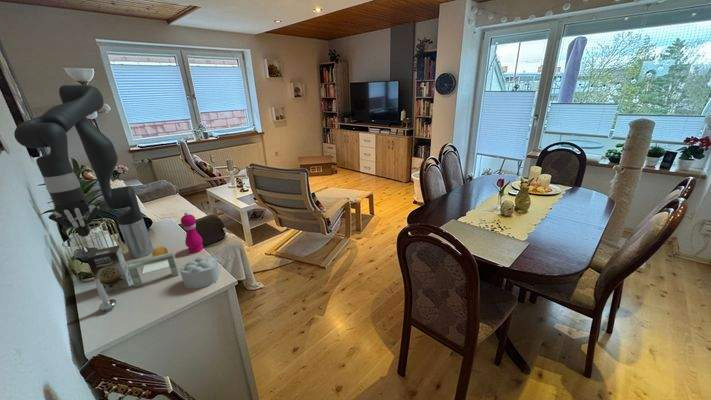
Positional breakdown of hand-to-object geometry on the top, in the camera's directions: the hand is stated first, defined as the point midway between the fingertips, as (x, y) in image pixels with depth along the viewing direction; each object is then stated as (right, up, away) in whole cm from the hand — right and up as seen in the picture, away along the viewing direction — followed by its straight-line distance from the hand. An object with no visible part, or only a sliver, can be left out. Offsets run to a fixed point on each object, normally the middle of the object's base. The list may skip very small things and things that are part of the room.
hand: (85, 235), depth 97 cm
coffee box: (-4, -23, +17) cm, 29 cm away
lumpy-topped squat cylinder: (+30, -21, +19) cm, 41 cm away
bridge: (+11, -21, +20) cm, 31 cm away
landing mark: (+4, -16, +32) cm, 36 cm away
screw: (+4, -27, +5) cm, 28 cm away
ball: (+2, -12, +34) cm, 36 cm away
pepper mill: (+15, -12, +42) cm, 46 cm away
